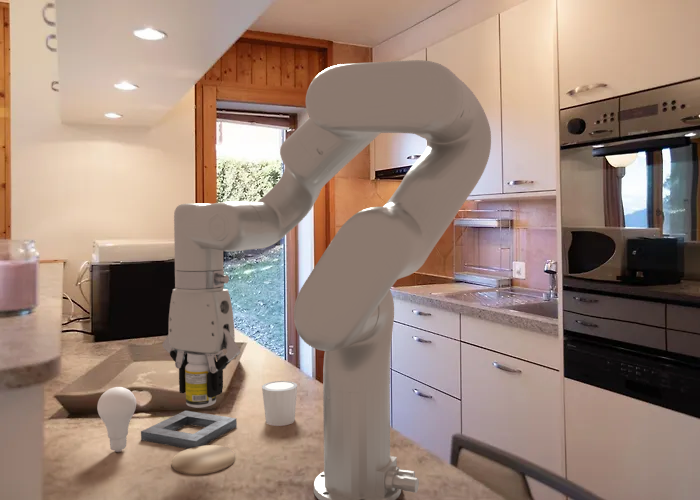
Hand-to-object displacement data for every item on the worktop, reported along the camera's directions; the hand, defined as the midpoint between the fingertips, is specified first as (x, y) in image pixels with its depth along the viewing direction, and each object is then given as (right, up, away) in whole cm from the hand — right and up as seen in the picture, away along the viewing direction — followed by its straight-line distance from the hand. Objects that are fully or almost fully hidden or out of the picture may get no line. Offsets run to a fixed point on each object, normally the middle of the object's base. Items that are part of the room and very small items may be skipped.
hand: (201, 391), depth 93 cm
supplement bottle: (0, -2, 0) cm, 2 cm away
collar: (-5, -11, +13) cm, 17 cm away
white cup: (+11, -10, +19) cm, 24 cm away
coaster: (0, -11, 0) cm, 11 cm away
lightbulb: (-15, -11, +5) cm, 20 cm away
